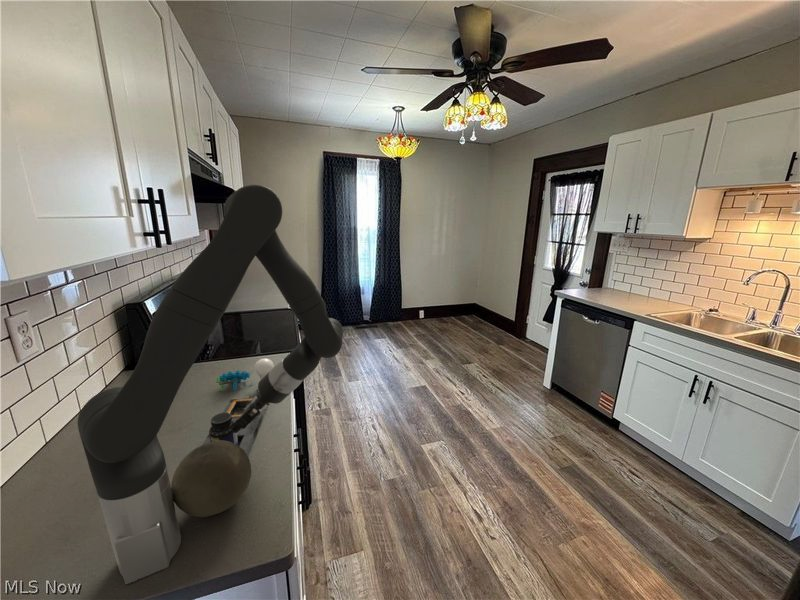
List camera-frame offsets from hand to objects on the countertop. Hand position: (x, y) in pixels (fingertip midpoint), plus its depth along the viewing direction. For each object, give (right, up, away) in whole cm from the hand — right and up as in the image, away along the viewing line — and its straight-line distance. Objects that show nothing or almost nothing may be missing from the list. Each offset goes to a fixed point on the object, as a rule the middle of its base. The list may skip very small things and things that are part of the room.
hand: (241, 419), depth 81 cm
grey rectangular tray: (-7, -8, +11) cm, 15 cm away
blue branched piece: (-20, -1, +35) cm, 41 cm away
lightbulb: (-9, -2, +36) cm, 37 cm away
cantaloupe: (+1, -15, -12) cm, 19 cm away
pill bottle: (-5, -10, +3) cm, 12 cm away
